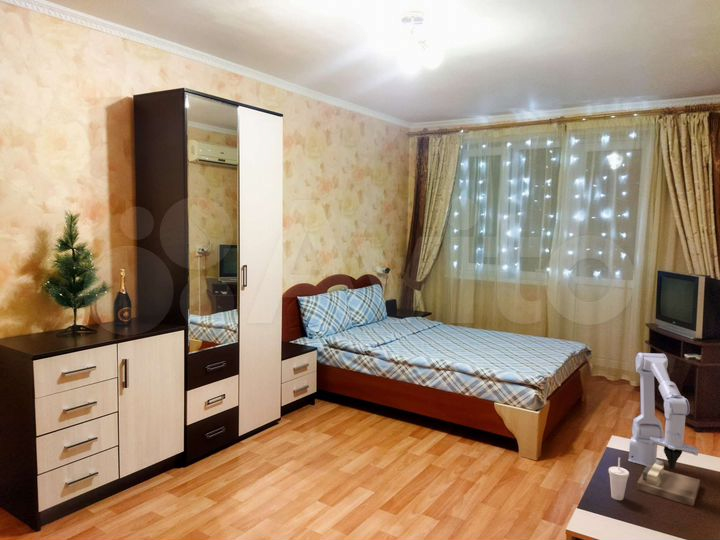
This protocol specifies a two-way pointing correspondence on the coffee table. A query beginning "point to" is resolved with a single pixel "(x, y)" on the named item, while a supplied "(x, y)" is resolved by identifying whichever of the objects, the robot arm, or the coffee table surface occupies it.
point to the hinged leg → (655, 472)
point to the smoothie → (618, 481)
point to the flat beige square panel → (671, 486)
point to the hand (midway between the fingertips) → (671, 468)
